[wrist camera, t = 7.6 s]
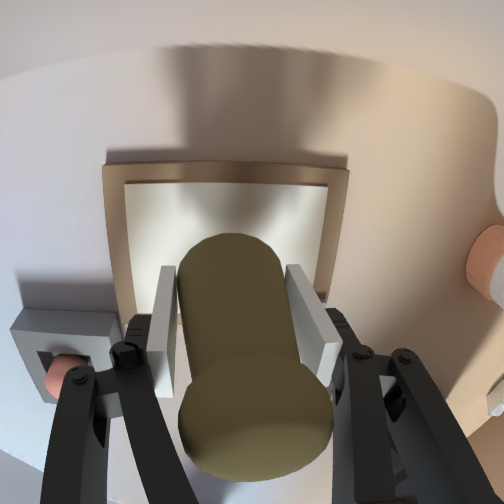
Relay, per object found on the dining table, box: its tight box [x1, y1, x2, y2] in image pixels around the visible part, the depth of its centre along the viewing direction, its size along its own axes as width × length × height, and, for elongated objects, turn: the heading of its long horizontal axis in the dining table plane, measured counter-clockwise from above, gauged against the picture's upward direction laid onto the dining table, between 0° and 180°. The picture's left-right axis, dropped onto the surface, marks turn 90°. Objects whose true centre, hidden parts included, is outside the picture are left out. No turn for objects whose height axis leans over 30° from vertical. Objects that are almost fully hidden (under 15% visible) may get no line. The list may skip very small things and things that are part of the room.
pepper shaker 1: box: [176, 233, 334, 482], centre depth 13 cm, size 6×6×11 cm
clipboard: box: [102, 161, 350, 325], centre depth 22 cm, size 16×12×1 cm
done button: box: [44, 353, 91, 399], centre depth 22 cm, size 4×4×2 cm
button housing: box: [10, 308, 122, 404], centre depth 24 cm, size 9×9×3 cm
